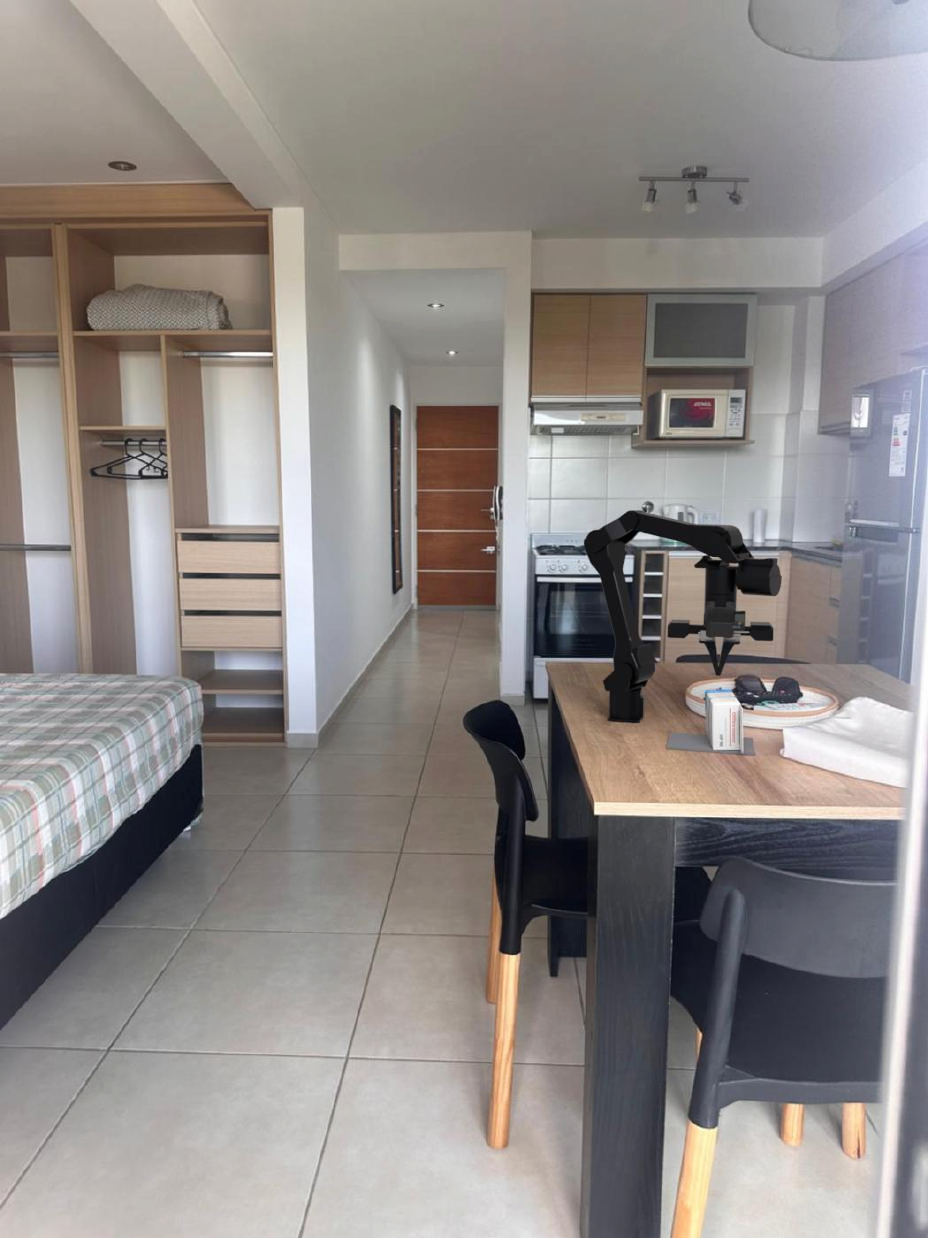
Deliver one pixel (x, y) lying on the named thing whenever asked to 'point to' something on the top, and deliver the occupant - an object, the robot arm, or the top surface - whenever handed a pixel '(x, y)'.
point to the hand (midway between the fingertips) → (718, 675)
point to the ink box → (724, 720)
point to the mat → (704, 744)
